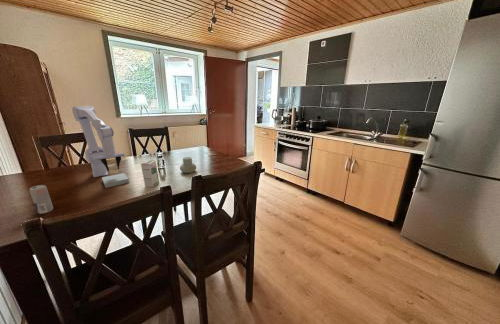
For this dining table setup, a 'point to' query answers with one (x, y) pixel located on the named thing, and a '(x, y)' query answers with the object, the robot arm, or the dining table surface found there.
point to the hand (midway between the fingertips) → (113, 169)
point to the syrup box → (150, 173)
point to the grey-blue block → (115, 180)
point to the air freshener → (187, 165)
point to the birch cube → (113, 168)
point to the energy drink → (41, 199)
